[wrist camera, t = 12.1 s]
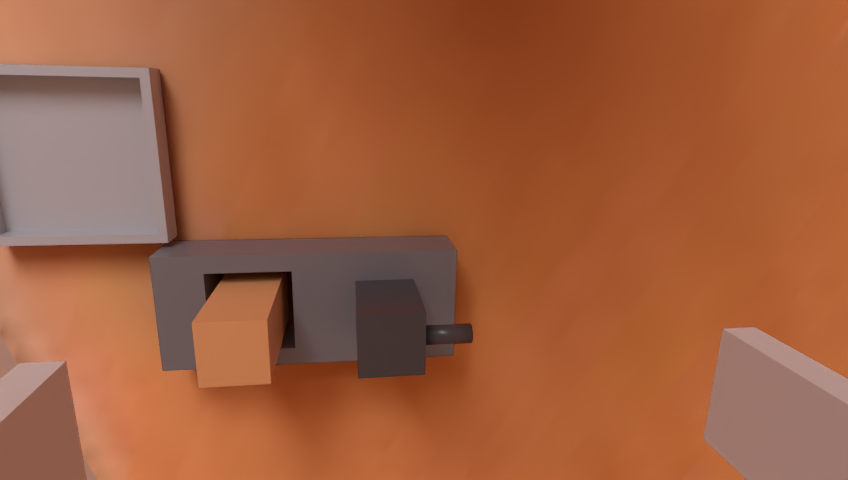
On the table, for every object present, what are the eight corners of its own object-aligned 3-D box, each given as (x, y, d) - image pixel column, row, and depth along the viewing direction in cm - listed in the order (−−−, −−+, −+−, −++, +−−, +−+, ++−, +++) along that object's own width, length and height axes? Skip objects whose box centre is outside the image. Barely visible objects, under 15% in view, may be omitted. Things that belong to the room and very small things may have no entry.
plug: (230, 266, 38) (191, 322, 29) (286, 265, 39) (266, 319, 29) (234, 317, 39) (198, 388, 30) (289, 315, 40) (271, 383, 30)
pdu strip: (169, 241, 37) (107, 290, 27) (446, 235, 40) (478, 278, 30) (180, 344, 39) (127, 423, 30) (443, 332, 42) (472, 400, 32)
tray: (-32, 64, 33) (-55, 62, 31) (159, 69, 34) (148, 67, 32) (2, 238, 35) (-17, 246, 33) (177, 235, 37) (168, 242, 35)
